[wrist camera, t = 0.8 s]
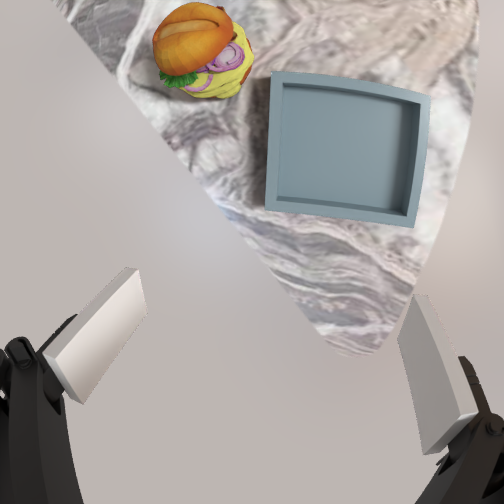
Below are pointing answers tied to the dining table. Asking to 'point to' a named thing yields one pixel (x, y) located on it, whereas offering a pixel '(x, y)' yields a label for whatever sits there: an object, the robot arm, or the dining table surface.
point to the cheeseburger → (202, 51)
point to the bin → (345, 148)
